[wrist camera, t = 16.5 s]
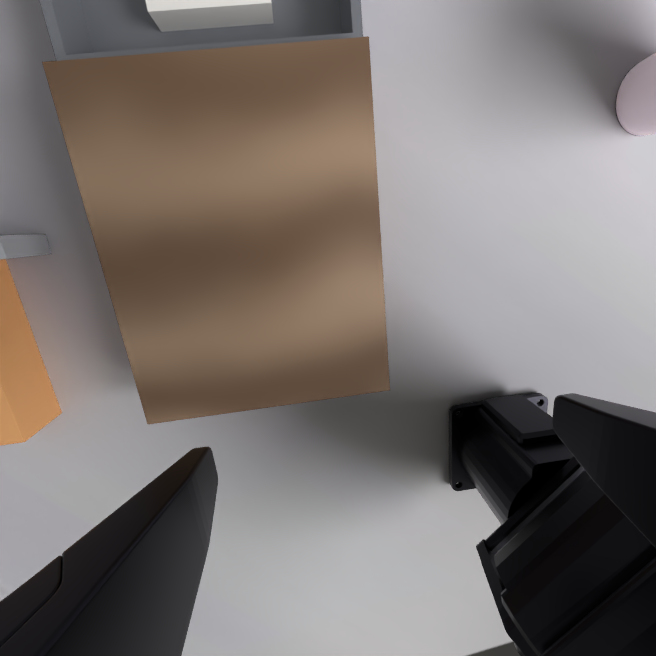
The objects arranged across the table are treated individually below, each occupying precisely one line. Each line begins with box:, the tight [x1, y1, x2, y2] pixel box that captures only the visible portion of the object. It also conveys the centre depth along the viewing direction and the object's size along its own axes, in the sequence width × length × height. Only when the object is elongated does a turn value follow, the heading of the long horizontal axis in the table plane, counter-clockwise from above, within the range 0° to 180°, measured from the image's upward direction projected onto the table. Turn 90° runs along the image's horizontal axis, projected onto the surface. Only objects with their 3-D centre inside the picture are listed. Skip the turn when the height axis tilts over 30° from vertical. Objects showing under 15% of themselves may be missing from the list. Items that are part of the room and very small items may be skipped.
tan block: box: [42, 37, 390, 424], centre depth 17 cm, size 15×12×4 cm
